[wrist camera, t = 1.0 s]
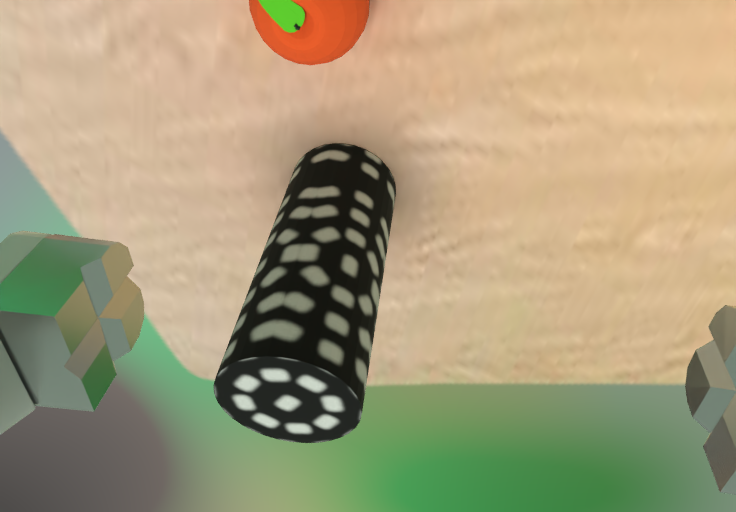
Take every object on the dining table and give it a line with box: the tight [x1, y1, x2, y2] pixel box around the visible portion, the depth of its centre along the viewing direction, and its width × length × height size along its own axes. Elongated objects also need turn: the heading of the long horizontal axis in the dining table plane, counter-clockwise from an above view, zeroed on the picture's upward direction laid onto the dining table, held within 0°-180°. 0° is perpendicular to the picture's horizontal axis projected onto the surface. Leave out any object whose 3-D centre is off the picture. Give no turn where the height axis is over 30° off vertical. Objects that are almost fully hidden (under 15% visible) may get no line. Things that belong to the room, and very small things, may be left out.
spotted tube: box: [214, 144, 396, 443], centre depth 40 cm, size 8×8×20 cm
